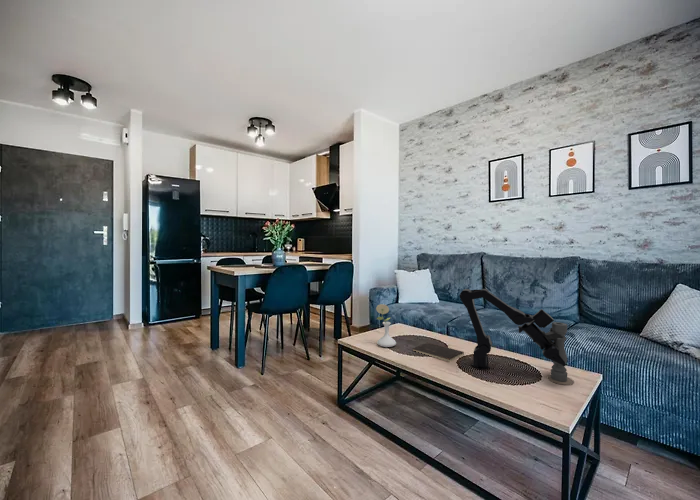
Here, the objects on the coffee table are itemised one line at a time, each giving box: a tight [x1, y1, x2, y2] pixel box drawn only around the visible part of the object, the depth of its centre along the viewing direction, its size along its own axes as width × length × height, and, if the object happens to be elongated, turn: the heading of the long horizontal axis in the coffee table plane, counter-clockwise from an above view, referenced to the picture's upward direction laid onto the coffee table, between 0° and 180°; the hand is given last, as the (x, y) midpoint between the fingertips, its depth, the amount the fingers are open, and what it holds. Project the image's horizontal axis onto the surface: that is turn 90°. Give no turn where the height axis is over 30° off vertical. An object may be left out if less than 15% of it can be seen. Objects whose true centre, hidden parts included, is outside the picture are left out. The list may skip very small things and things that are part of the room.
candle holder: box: [550, 321, 568, 382], centre depth 139 cm, size 6×6×25 cm
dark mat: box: [546, 374, 575, 386], centre depth 139 cm, size 10×10×1 cm
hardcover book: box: [412, 342, 465, 363], centre depth 175 cm, size 16×23×2 cm
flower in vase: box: [375, 303, 397, 348], centre depth 188 cm, size 13×11×25 cm
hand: (564, 361), depth 139 cm, fingers open, 9 cm apart
